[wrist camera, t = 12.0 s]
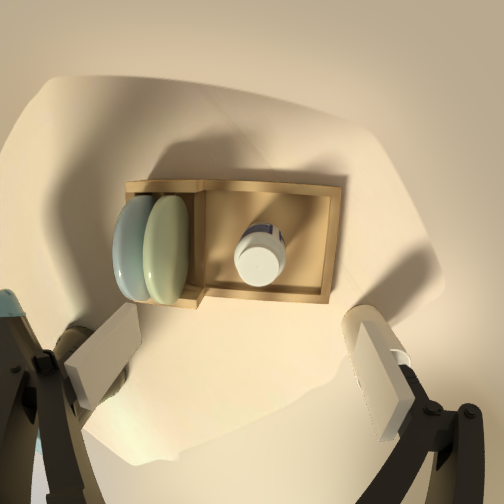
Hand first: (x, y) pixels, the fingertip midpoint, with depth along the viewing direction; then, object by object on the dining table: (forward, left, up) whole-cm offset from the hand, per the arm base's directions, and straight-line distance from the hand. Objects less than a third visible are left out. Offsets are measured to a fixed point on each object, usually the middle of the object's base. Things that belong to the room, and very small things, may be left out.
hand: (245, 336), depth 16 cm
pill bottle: (0, 0, -22) cm, 22 cm away
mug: (+15, -13, -23) cm, 30 cm away
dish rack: (-3, 0, -23) cm, 23 cm away
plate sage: (-10, 0, -22) cm, 24 cm away
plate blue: (-13, 0, -23) cm, 26 cm away
